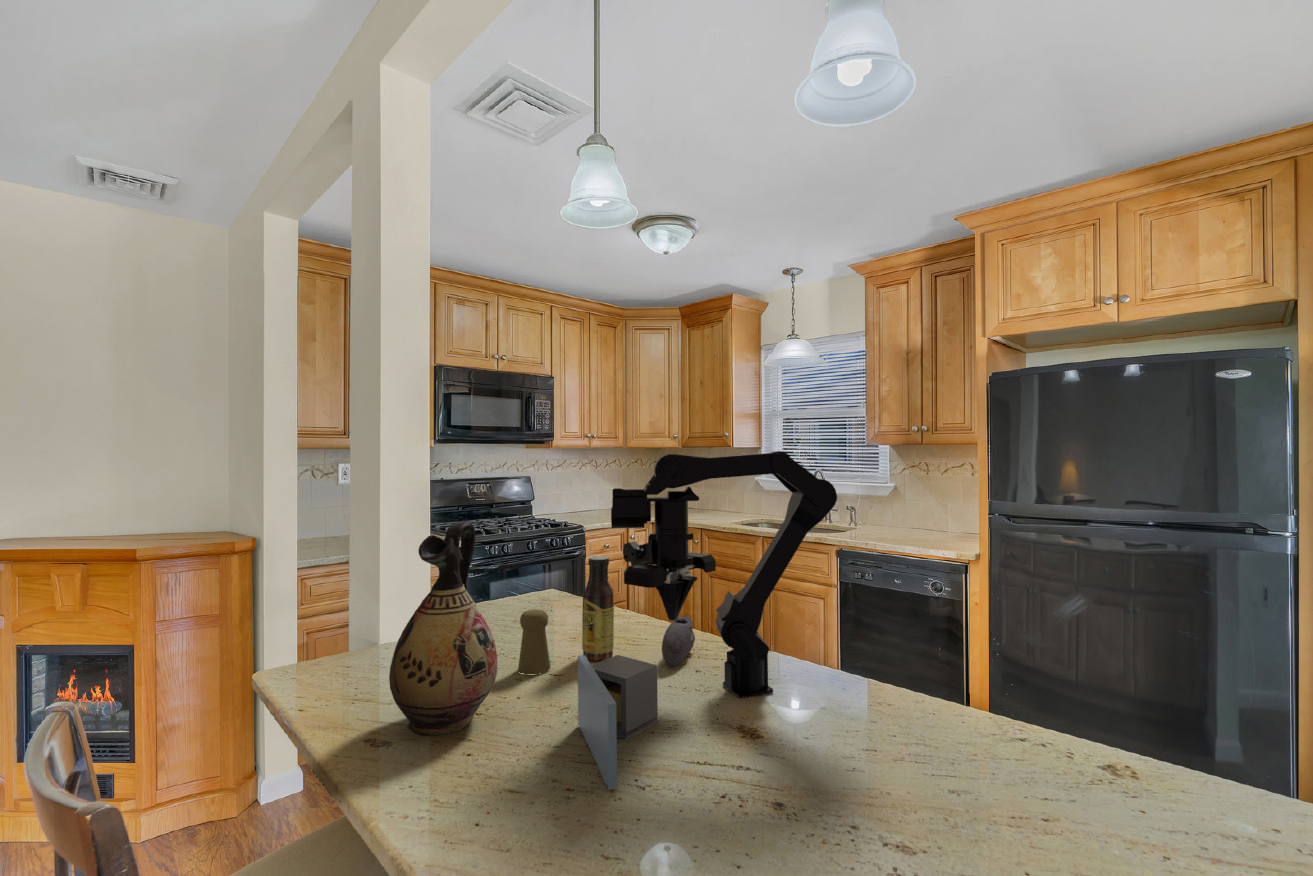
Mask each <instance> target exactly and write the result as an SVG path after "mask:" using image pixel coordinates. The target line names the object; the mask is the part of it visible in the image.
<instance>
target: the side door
mask: <svg viewBox="0 0 1313 876" xmlns="http://www.w3.org/2000/svg"><path fill="white" fill-rule="evenodd" d="M591 665H592V664H591V662H590V660H588V659H587V658H586V657H585V655H583V654H582V655H577V701H578V702H577V704H578V705H577V713H578V714H577V716H578V717H577V718H578V719H577V720H578V723H577V724H578V727H579V729H580V730H581V732H582V735H583V737H584V739H585V741H586V743H587V744H586V745H587V746H588V748H589V750H590V753H591V755H592V756H593V758H594V761H595V763H596V766H597V767H598V769H599V771H600V774H601V776H602V778H603V780H604V783H605V784H606V787H607V789H608V791H611V790H615V789H618V765H617V764H618V759H617V758H618V757H617V756H618V753H617V752H618V751H617V750H618V748H617V747H618V746H617V744H618V743H617V741H618V739H617V738H618V737H617V730H616V702H615V701H614V699H613V698H612V696H611V695H610V693H609V692H608V690H607V689H606V687H605V685H604V684H603V682H602V681H601V679H600V678H599V676H598V675H597V673H596V672H595V670H594V669H593V667H592V666H591Z"/></svg>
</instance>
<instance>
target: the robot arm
mask: <svg viewBox="0 0 1313 876" xmlns="http://www.w3.org/2000/svg"><path fill="white" fill-rule="evenodd" d="M760 475H772V476H774V477H775V478H776V480H778V481H779V482H780V483H781V484H782V485H783V486H784V487H785V488H786V489H787V490H788V491H790V493H792V494H791V496H790V498H789V500H788V504H787V509H786V514H785V517H784V520H783V522H782V523H781V525H780V526H779V528H778V530H777V532H776V534H775V535H774V537H773V538H772V540H771V541H770V543H769V545H768V547H767V548H766V550H765V551H764V554H763V555H762V556H761V558H760V560H759V562H758V563H757V565H756V566H755V569H754V570H753V572H752V573H751V574H750V576H749V578H748V580H747V581H746V584H745V585H744V587H743V588H741V590H739V591H738V592H737V593H736V594H733V593H731V591H727V593H726V594H725V597H724V599H723V601H722V603H721V604H720V606H718V607H717V608H716V609H715V612H716V613H717V615H716V619H715V626H716V629H717V631H718V632H719V635H720V636H721V639H722V640H723V643H724V644H725V645H727V647H729V648H732V649H731V650H729V651H728V650H727V651H726V661H725V662H724V681H722V686H724V688H726V689H727V690H729V691H730V692H731V693H733V695H735V696H737V697H738V698H748V697H754V696H759V695H765V694H770V693H774V688H773V687H771V686H770V685H769V663H768V662H769V660H768V659H769V658H768V657H769V656H768V655H769V651H770V647H769V645H768V644H767V643H766V641H765V640H764V639H763V638H762V636H761V634H760V633H759V632H758V630H759V628H760V625H761V623H762V622H761V621H762V619H763V613H764V608H765V605H766V602H767V601H768V599H769V597H770V596H771V594H772V592H773V591H774V589H775V587H776V586H777V584H778V582H779V581H780V578H781V577H782V575H783V574H784V572H785V570H786V569H787V568H788V566H789V564H790V562H791V561H792V559H793V558H794V556H795V554H796V552H797V551H798V549H799V548H800V546H801V544H802V542H803V541H804V539H805V537H807V534H808V533H809V532H810V531H812V529H813V528H815V526H817V525H818V524H819V523H820V522H822V521H823V520H824V519H825V517H826V516H827V515H828V514H829V513H830V512H831V511H832V509H833V508H834V507H835V505H836V503H837V502H838V495H837V491H836V490H837V489H836V487H834V485H833V484H832V483H831V482H830V481H829V480H827V479H826V480H825V479H823V478H818V477H816V476H815V475H814V474H813V473H812V472H810V471H809V470H808V469H806V468H805V467H803V466H802V465H801V464H800V463H798V462H797V461H796V460H794V459H793V458H792V457H791V456H790V455H789V454H788V452H785V451H781V450H778V451H777V450H776V451H771V452H766V453H756V454H755V453H753V454H751V453H750V454H741V455H728V456H726V455H725V456H715V457H713V456H712V457H705V456H697V455H696V456H695V455H694V456H693V455H685V454H676V453H675V454H674V453H670V454H669V453H668V454H665V455H664V454H663V455H661V456H660V457H659V458H658V459H657V460H656V461H655V463H654V466H653V475H652V476H651V478H650V480H649V481H648V482H647V483H645V486H644V488H630V489H629V488H621V487H620V488H619V487H613V489H612V501H611V502H612V503H611V504H612V506H611V508H610V509H611V510H610V517H611V518H610V520H611V521H610V522H611V523H610V524H611V529H645V524H648V523H651V522H652V521H651V520H652V505H651V503H652V502H653V503H654V532H652V533H649V535H648V536H647V537H648V538H647V539H648V540H647V541H648V542H647V543H644V544H639V543H638V542H637V541H629V542H627V543H624V544H623V550H622V556H623V560H624V562H626V563H630V565H629V566H627V567H626V568H625V569H624V571H623V584H625V585H630V586H636V587H642V588H648V589H652V588H653V589H654V588H655V589H656V590H657V591H658V594H659V596H660V598H661V600H662V604H663V607H664V611H665V614H666V615H667V619H668V620H669V621H672V622H673V621H674V620H676V619H677V618H678V617H679V614H680V613H681V611H682V608H683V606H684V603H685V601H686V599H687V597H688V595H689V593H690V591H691V589H692V587H693V585H694V584H695V582H696V581H697V580H698V577H697V576H693V575H692V574H691V573H692V572H690V571H691V570H695V569H699V570H703V571H704V573H711V572H715V571H716V570H717V567H716V565H717V563H716V562H717V561H716V559H715V557H714V556H713V555H712V554H709V553H701V552H700V553H699V552H693V551H692V552H689V541H690V540H694V533H693V532H689V502H698V501H699V500H700V497H699V496H698V494H696V493H695V492H694V491H693V489H692V488H691V486H689V485H692V484H696V483H699V482H703V481H706V480H710V479H722V478H737V477H749V476H750V477H751V476H760ZM681 487H686V488H685V489H684V490H669V491H667V494H666V496H659V497H658V496H657V495H659V494H660V493H662V492H664V491H665V490H666V489H677V488H681ZM650 495H651V497H648V496H650ZM652 496H653V497H652ZM654 496H655V497H654ZM656 496H657V497H656Z"/></svg>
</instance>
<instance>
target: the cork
mask: <svg viewBox="0 0 1313 876" xmlns="http://www.w3.org/2000/svg"><path fill="white" fill-rule="evenodd" d="M519 622H520V623H519V624H520V627H521V629H522V636H521V643H520V644H521V645H520V651H519V659H518V668H517V672H518V671H519V672H520V673H524V674H539V673H544V674H546V673H548V672H549V671H548V670H549V669H550V668H551V662H550V653H549V646H548V638H547V632H546V631H547V630H546V627H547V626H548V623H549V616H548V613H547V612H546V611H544V610H543V609H536V608H535V609H529V610H525V611H524V612H523V613H522V614H521V615H520V620H519ZM550 670H551V669H550ZM547 671H548V672H547ZM519 672H518V673H519ZM545 672H546V673H545ZM520 673H519V674H520Z"/></svg>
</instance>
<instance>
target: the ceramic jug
mask: <svg viewBox="0 0 1313 876" xmlns="http://www.w3.org/2000/svg"><path fill="white" fill-rule="evenodd" d="M475 530H476V529H475V526H474V524H472V523H471V522H470V521H467V520H462V521H459V522H453V523H452V524H451V525H449V527H448V529H447V530H446V533H445V537H444V539H442V538H441V537H440V536H439V537H438V536H437V535H435V534H433V535H432V534H431V535H428V536H427V537H426V538H425V539H423V541H422V542H421V543H420V545H419V546H418V550H417V551H418V556H419V557H420V559H421V560H422V561H424V562H426V563H428V564H430V565H433V566H435V567H437V568H438V577H437V579H436V581H435V582H434V584H433V585H432V586H431V589H430V591H429V592H428V594H427V595H426V596H425V597H424V599H422V601H421V603H420V604H419V606H418V607H417V608H416V609H415V611H414V613H413V614H412V615H411V617H410V618H409V620H408V622H407V624H406V625H405V627H404V629H403V630H402V632H401V634H400V636H399V638H398V641H397V643H396V645H395V647H394V648H395V649H394V651H393V656H392V658H391V664H390V667H389V676H388V677H389V679H388V680H389V681H388V682H389V689H390V691H391V692H390V693H391V695H392V698H393V701H394V703H395V704H396V705H397V708H399V710H400V711H401V713H402V714H403V715H404V716H405V718H406V719H407V720H408V722H409V723H408V724H407V727H408V728H409V729H410V730H411V732H412V733H414V734H416V735H420V736H422V737H423V736H428V735H435V736H436V735H437V736H438V735H446V734H445V733H447V734H449V733H448V732H451V733H454V732H453V731H455V732H457V731H459V730H458V729H460V730H462V729H463V728H465V727H466V726H468V724H469V723H470V724H471V723H472V721H473V720H474V717H475V714H476V712H477V710H478V709H479V708H480V707H481V705H482V704H483V702H484V701H485V700H486V699H487V697H488V695H490V693H491V691H492V689H493V687H494V685H495V682H496V678H497V675H498V653H497V647H496V643H495V642H496V641H495V638H494V635H493V633H492V630H491V628H490V626H489V624H488V622H487V620H486V618H485V616H484V615H483V613H482V612H481V610H480V609H479V607H478V605H477V603H476V602H474V601H475V600H473V598H472V596H471V595H470V594H469V592H468V591H467V590H468V578H469V572H470V568H471V564H472V560H473V557H474V556H473V555H474V551H475V545H476V531H475ZM472 719H473V720H472ZM470 724H469V725H470ZM461 728H462V729H461ZM456 730H457V731H456Z"/></svg>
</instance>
